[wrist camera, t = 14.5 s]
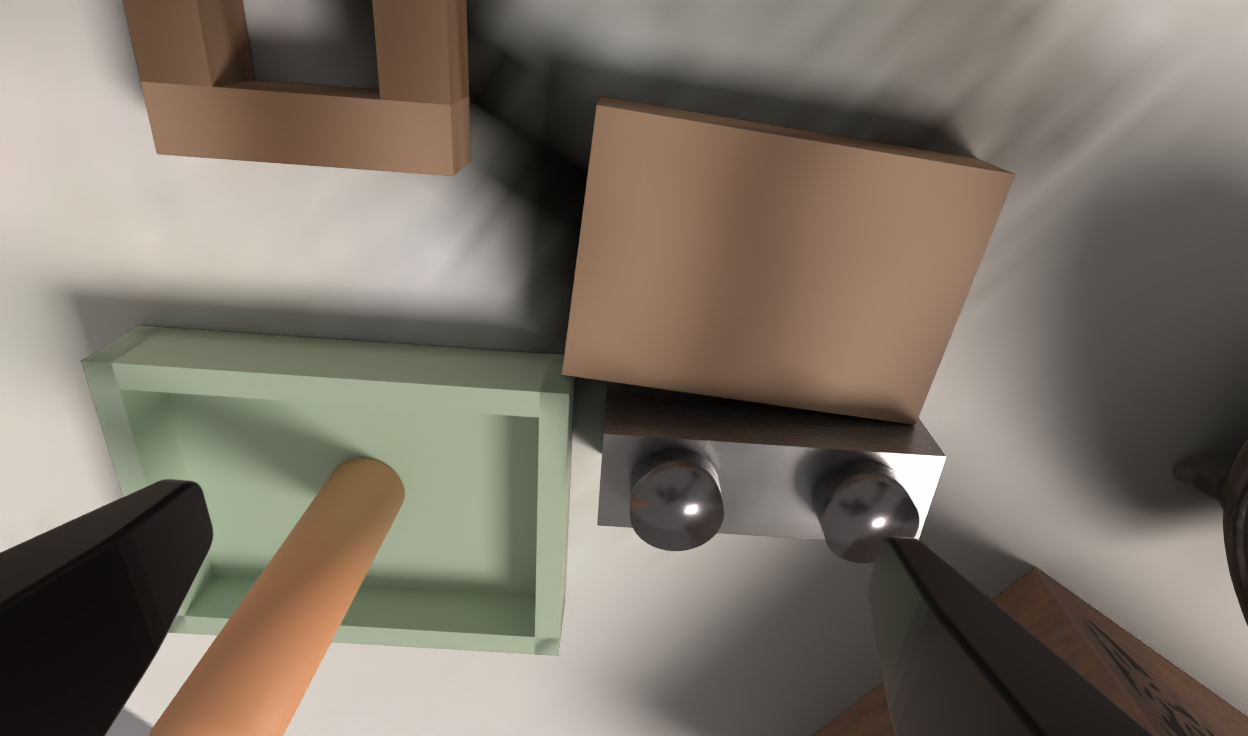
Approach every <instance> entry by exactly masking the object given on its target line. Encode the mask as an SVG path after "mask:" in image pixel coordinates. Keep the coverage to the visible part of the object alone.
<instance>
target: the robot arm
mask: <svg viewBox="0 0 1248 736" xmlns="http://www.w3.org/2000/svg"><path fill="white" fill-rule="evenodd" d="M212 541H213V526H212V523H211V519H210V515H209V512H208V508H207V504H206V501H205V497H204V493H203V490H202V488H201V486H200V485H199V484H198V483H196V482H194V481H189V480H176V479H164V480H160V481H158V482H155V483H153V484H151V485H149V486H147V487H144V488H142V489H140V490H138V491H136V492H133V493H131V494H129V495H127V496H125V497H122V498H120V499H118V500H116V501H114V502H111V503H109V504H107V505H105V506H102V507H100V508H98V509H96V510H94V511H91V512H89V513H87V514H85V515H83V516H80V517H78V518H76V519H74V520H72V521H69V522H67V523H65V524H63V525H60V526H58V527H56V528H54V529H52V530H49V531H47V532H45V533H43V534H41V535H38V536H36V537H34V538H32V539H30V540H27V541H25V542H23V543H21V544H19V545H16V546H14V547H12V548H10V549H7V550H5V551H3V552H1V553H0V736H105V735H106V733H107V732H108V730H109V729H110V727H111V726H112V724H113V722H114V721H115V719H116V718H117V716H118V715H119V713H120V711H121V710H122V708H123V707H124V705H125V704H126V702H127V700H128V699H129V697H130V696H131V694H132V692H133V691H134V689H135V688H136V686H137V685H138V683H139V681H140V680H141V678H142V677H143V675H144V674H145V672H146V670H147V669H148V667H149V665H150V664H151V662H152V660H153V659H154V657H155V655H156V654H157V652H158V650H159V648H160V646H161V645H162V643H163V641H164V639H165V637H166V635H167V633H168V631H169V629H170V627H171V625H172V623H173V621H174V619H175V617H176V615H177V613H178V611H179V609H180V607H181V605H182V603H183V601H184V599H185V598H186V596H187V594H188V592H189V590H190V588H191V586H192V584H193V582H194V580H195V578H196V576H197V574H198V572H199V570H200V568H201V566H202V564H203V562H204V560H205V558H206V556H207V554H208V552H209V550H210V547H211V544H212ZM868 598H869V605H870V610H871V616H872V621H873V627H874V632H875V638H876V643H877V649H878V654H879V660H880V665H881V671H882V676H883V682H884V687H885V693H886V698H887V702H888V707H889V712H890V716H891V719H892V723H893V727H894V730H895V734H896V736H1154V735H1153V734H1151V733H1150V732H1149V731H1148V730H1147V729H1145V728H1144V727H1143V726H1142V725H1141V724H1139V723H1138V722H1137V721H1136V720H1135V719H1133V718H1132V717H1131V716H1130V715H1129V714H1127V713H1126V712H1125V711H1124V710H1123V709H1121V708H1120V707H1119V706H1118V705H1117V704H1116V703H1114V702H1113V701H1112V700H1111V699H1110V698H1108V697H1107V696H1106V695H1105V694H1104V693H1102V692H1101V691H1100V690H1099V689H1098V688H1096V687H1095V686H1094V685H1093V684H1092V683H1090V682H1089V681H1088V680H1087V679H1086V678H1084V677H1083V676H1082V675H1081V674H1080V673H1078V672H1077V671H1076V670H1075V669H1074V668H1072V667H1071V666H1070V665H1069V664H1068V663H1066V662H1065V661H1064V660H1063V659H1062V658H1061V657H1059V656H1058V655H1057V654H1056V653H1055V652H1053V651H1052V650H1051V649H1050V648H1049V647H1047V646H1046V645H1045V644H1044V643H1043V642H1041V641H1040V640H1039V639H1038V638H1037V637H1035V636H1034V635H1033V634H1032V633H1031V632H1029V631H1028V630H1027V629H1026V628H1025V627H1023V626H1022V625H1021V624H1020V623H1019V622H1017V621H1016V620H1015V619H1014V618H1013V617H1011V616H1010V615H1009V614H1008V613H1007V612H1005V611H1004V610H1003V609H1002V608H1001V607H1000V606H998V605H997V604H996V603H995V602H994V601H992V600H991V599H990V598H989V597H988V596H986V595H985V594H984V593H983V592H982V591H980V590H979V589H978V588H977V587H976V586H974V585H973V584H972V583H971V582H970V581H968V580H967V579H966V578H965V577H964V576H962V575H961V574H960V573H959V572H958V571H956V570H955V569H954V568H953V567H952V566H950V565H949V564H948V563H947V562H946V561H945V560H943V559H942V558H941V557H940V556H939V555H937V554H936V553H935V552H934V551H933V550H931V549H930V548H929V547H928V546H927V545H925V544H924V543H923V542H922V541H920V540H918V539H916V538H909V537H896V536H889V537H887V538H885V539H884V540H883V542H882V544H881V546H880V549H879V552H878V556H877V559H876V562H875V565H874V568H873V571H872V575H871V578H870V581H869V587H868Z"/></svg>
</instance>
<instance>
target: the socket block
mask: <svg viewBox="0 0 1248 736" xmlns="http://www.w3.org/2000/svg"><path fill="white" fill-rule="evenodd" d="M123 4H124V9H125V13H126V18H127V22H128V27H129V31H130V36H131V40H132V45H133V49H134V53H135V58H136V62H137V67H138V71H139V76H140V80H141V85H142V89H143V94H144V98H145V103H146V107H147V112H148V116H149V121H150V125H151V130H152V134H153V139H154V143H155V148H156V152H157V154H162V155H175V156H189V157H202V158H216V159H229V160H243V161H256V162H270V163H283V164H297V165H310V166H324V167H337V168H351V169H364V170H378V171H391V172H405V173H418V174H432V175H445V176H454V175H455V174H456V173H457V172H459V171H460V170H461V169H462V168H463V167H464V166H465V165H467V164H468V163H469V162H470V161H471V153H470V116H469V79H468V42H467V5H466V0H372V4H373V16H374V28H375V41H376V53H377V66H378V78H379V89H366V88H353V87H340V86H327V85H314V84H301V83H287V82H274V81H261V80H255V78H254V72H253V65H252V59H251V52H250V46H249V39H248V33H247V26H246V20H245V13H244V7H243V0H123Z"/></svg>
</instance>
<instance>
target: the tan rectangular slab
mask: <svg viewBox="0 0 1248 736" xmlns="http://www.w3.org/2000/svg"><path fill="white" fill-rule="evenodd" d="M1014 177H1015V174H1013V173H1011V172H1009V171H1006V170H1004V169H1001V168H999V167H996V166H994V165H991V164H989V163H986V162H984V161H981V160H979V159H976V158H970V157H963V156H957V155H951V154H945V153H939V152H933V151H927V150H921V149H915V148H909V147H903V146H897V145H891V144H885V143H879V142H873V141H867V140H861V139H855V138H849V137H843V136H837V135H831V134H825V133H819V132H813V131H807V130H801V129H795V128H789V127H783V126H777V125H771V124H765V123H759V122H753V121H747V120H741V119H735V118H729V117H723V116H717V115H711V114H705V113H699V112H693V111H687V110H681V109H675V108H669V107H663V106H657V105H651V104H645V103H639V102H633V101H627V100H621V99H615V98H609V97H603V96H600V98H599V101H598V103H597V107H596V114H595V122H594V130H593V138H592V145H591V153H590V161H589V169H588V176H587V184H586V192H585V200H584V207H583V215H582V223H581V231H580V238H579V246H578V254H577V262H576V269H575V277H574V285H573V293H572V300H571V308H570V316H569V324H568V331H567V339H566V347H565V355H564V362H563V370H562V375H568V376H575V377H582V378H589V379H596V380H603V381H610V382H617V383H624V384H631V385H638V386H645V387H652V388H659V389H666V390H673V391H680V392H687V393H694V394H701V395H709V396H716V397H723V398H730V399H737V400H744V401H751V402H758V403H765V404H772V405H779V406H786V407H793V408H800V409H807V410H814V411H821V412H828V413H835V414H842V415H849V416H856V417H863V418H870V419H877V420H885V421H892V422H899V423H906V424H913V425H915V424H916V422H917V419H918V417H919V414H920V412H921V409H922V407H923V404H924V402H925V399H926V397H927V394H928V392H929V389H930V387H931V384H932V382H933V379H934V377H935V374H936V372H937V369H938V367H939V364H940V362H941V359H942V357H943V354H944V352H945V349H946V347H947V344H948V342H949V339H950V337H951V334H952V332H953V329H954V327H955V324H956V322H957V319H958V317H959V314H960V312H961V309H962V307H963V304H964V302H965V299H966V297H967V294H968V292H969V289H970V287H971V284H972V282H973V279H974V277H975V274H976V272H977V269H978V267H979V264H980V262H981V259H982V257H983V254H984V252H985V249H986V247H987V244H988V242H989V239H990V237H991V234H992V232H993V229H994V227H995V224H996V222H997V219H998V217H999V214H1000V212H1001V209H1002V207H1003V204H1004V202H1005V199H1006V197H1007V194H1008V192H1009V189H1010V187H1011V184H1012V182H1013V179H1014Z"/></svg>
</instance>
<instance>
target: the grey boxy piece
mask: <svg viewBox="0 0 1248 736" xmlns="http://www.w3.org/2000/svg"><path fill="white" fill-rule="evenodd" d="M945 459H946V456H945V454H944V453H943V451H942V450H941V449H940V447H939V446H938V444H937V443H936V442H935V440H934V439H933V437H932V436H931V435H930V433H929V432H928V430H927V429H926V428H925V426H924V425H923V423H922V422H921V421H920V419H919V418H918V419H917V422H916V424H915V425H913V424H906V423H899V422H892V421H885V420H877V419H870V418H863V417H856V416H849V415H842V414H835V413H828V412H821V411H814V410H807V409H800V408H793V407H786V406H779V405H772V404H765V403H758V402H751V401H744V400H737V399H730V398H723V397H716V396H709V395H701V394H694V393H687V392H680V391H673V390H666V389H659V388H652V387H645V386H638V385H631V384H624V383H617V382H610V381H607V393H606V407H605V421H604V435H603V449H602V464H601V479H600V494H599V508H598V523H597V525H600V526H616V527H631V528H633V529H634V531H635V532H636V533H637V535H638V536H639V537H640V538H641V539H642V540H644V541H645V542H646V543H648V544H650V545H652V546H654V547H656V548H659V549H663V550H669V551H683V550H689V549H693V548H696V547H698V546H700V545H702V544H704V543H706V542H707V541H709V540H710V539H711V538H712V537H713V536H714V535H715V534H716V533H725V534H741V535H757V536H772V537H788V538H804V539H819V540H826V542H827V544H828V546H829V547H830V549H831V550H832V551H833V552H834V553H835V554H837V555H838V556H840V557H841V558H843V559H846V560H849V561H852V562H858V563H872V562H876V559H877V556H878V552H879V549H880V546H881V544H882V542H883V540H884V539H885V538H887V537H889V536H896V537H909V538H916V539H918V540H919V537H920V534H921V531H922V528H923V525H924V522H925V519H926V516H927V513H928V510H929V507H930V504H931V501H932V498H933V495H934V492H935V489H936V486H937V483H938V480H939V477H940V474H941V471H942V468H943V465H944V462H945Z"/></svg>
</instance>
